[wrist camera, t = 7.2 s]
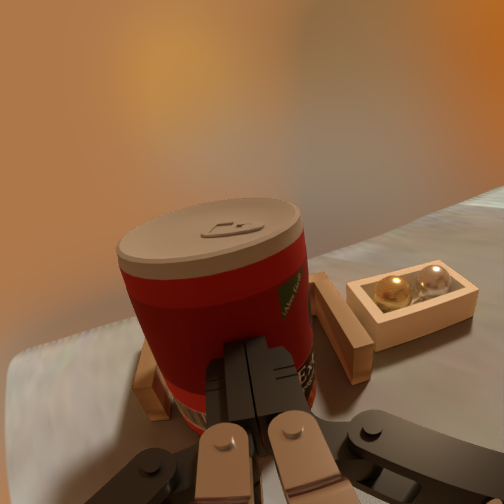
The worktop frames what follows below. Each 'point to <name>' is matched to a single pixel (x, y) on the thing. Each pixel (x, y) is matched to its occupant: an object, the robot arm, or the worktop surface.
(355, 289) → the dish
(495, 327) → the worktop surface
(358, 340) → the birch holder
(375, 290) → the brass ball
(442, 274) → the steel ball
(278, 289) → the canned food
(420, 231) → the worktop surface
